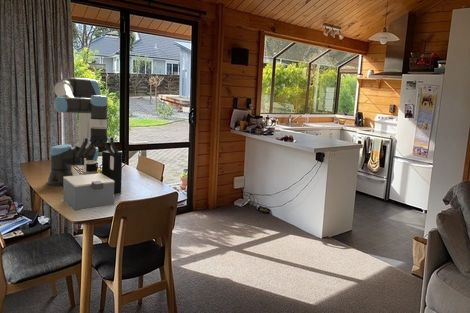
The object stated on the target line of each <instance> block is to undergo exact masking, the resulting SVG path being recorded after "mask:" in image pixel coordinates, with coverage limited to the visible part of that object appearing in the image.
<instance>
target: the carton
mask: <svg viewBox="0 0 470 313" xmlns="http://www.w3.org/2000/svg"><path fill="white" fill-rule="evenodd" d="M62 190H63V194H62V195H63V202H65V204H67V205H68V206H69V207H70V208H71V209H72V210H73V211H82V210H89V209H95V208H100V207H101V208H103V207H108V206H114V205H115V202H114V201H115V195H114V183H108V184H103V189H99V190H95V189H93V188H92V185H90V186H81V187H74V186H73V185H72V184H70V183H69V182H68V181H66V180H65V179H63V189H62Z"/></svg>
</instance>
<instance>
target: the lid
mask: <svg viewBox="0 0 470 313" xmlns="http://www.w3.org/2000/svg"><path fill="white" fill-rule="evenodd" d="M63 178H64V179H65V180H66V181H68V182H69V183H70V184H72V185H73V186H74V187H81V186H90V185H92V188H93V189H95V190H99V189H103V184H108V183H115V181H113V180H112V179H110V178H108V177H107V176H105V175H103V174H102V172H101V173H100V172H99V173H98V172H97V174H87V175H82V174H78V175H74V176H66V177H63Z"/></svg>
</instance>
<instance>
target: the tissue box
mask: <svg viewBox="0 0 470 313" xmlns="http://www.w3.org/2000/svg"><path fill="white" fill-rule="evenodd" d="M110 149H111V150H112V151H113V152H114V150H113V148H112V146H111V145H110ZM118 152H119V155H117V156H116V157H115V163H114V170H111V169H110V156H112V155H111V154H110V153H109V152H108V150H102V151H101V154H102V155H101V173H102V174H103V175H105V176H107V177H108V178H110V179H112V180H113V181H115V183H114V196H116V195H120V194H122V181H123V180H122V177H123V176H122V174H123V171H122V170H123V151H119V150H118ZM114 153H115V152H114Z"/></svg>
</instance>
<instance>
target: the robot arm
mask: <svg viewBox="0 0 470 313" xmlns="http://www.w3.org/2000/svg"><path fill="white" fill-rule="evenodd" d="M53 91H54V94H55V99H54V102H55V103H54V105H55V106H54V107H55V111H56V112H57V113H64V114H65V113H69V114H70V113H72V114H75V113H76V114H78V141H77V142H76V143H75V146H72V144H70V143H69V144H67V143H66V144H65V143H64V144H58V145H54V146H52V147H50V153H49V157H50V172H49V175H48V178H47V184H48V185H51V186H55V187H58V186H60V187H62V186H63V179H64V178H63V177H66V176H75V175H74V173H73V171H72V170H73V167H77V166H78V167H79V166H80V167H81V166H82V167H83V172H86V161H96V162H97V163H98V159H99V147H100V148H102V147H104V148H105V149H106V151H108V152H109V153H110V154H111V155H112V156H110V169H111V170H114V163H115V157H116V156H117V155H119V152H118V151H119V150H118V148H117V146H116V144H115V141H114V137H112V136H109V137H107V136H108V129H107V127H108V103H109V102H108V97H107V96H106V95H101V89H100V84H99V81H98V80H97V79H93V78H83V77H64V78H62V79H59V80H58V81H57V82H55V84H54V86H53ZM107 142H109V144H110V147H109V145H108V144H107ZM111 146H112V148H113V150H114V152H115V153H114V152H113V151H112V150H111Z"/></svg>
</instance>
